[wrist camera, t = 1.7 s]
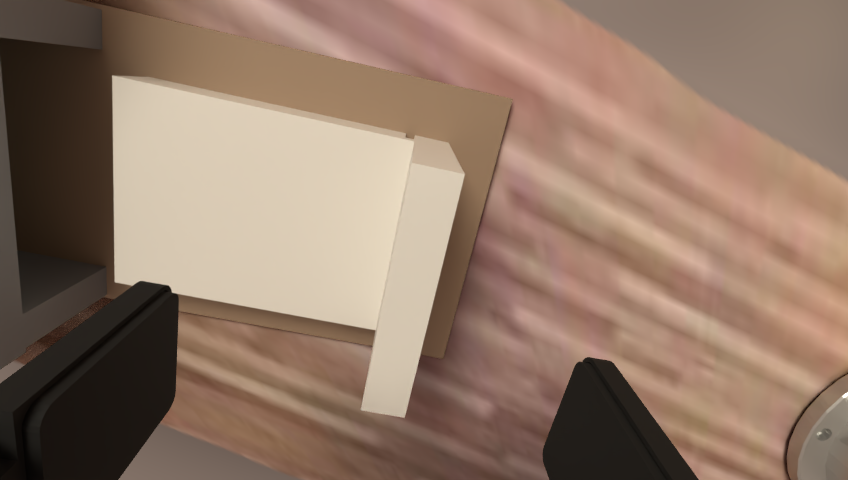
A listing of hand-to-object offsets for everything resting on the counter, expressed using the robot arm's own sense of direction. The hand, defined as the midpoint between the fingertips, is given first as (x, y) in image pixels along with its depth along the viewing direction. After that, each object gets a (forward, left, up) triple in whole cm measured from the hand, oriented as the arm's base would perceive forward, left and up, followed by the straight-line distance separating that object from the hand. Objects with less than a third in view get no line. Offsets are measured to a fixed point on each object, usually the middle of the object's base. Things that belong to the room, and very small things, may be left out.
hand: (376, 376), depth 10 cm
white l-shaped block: (+6, 0, -12) cm, 14 cm away
